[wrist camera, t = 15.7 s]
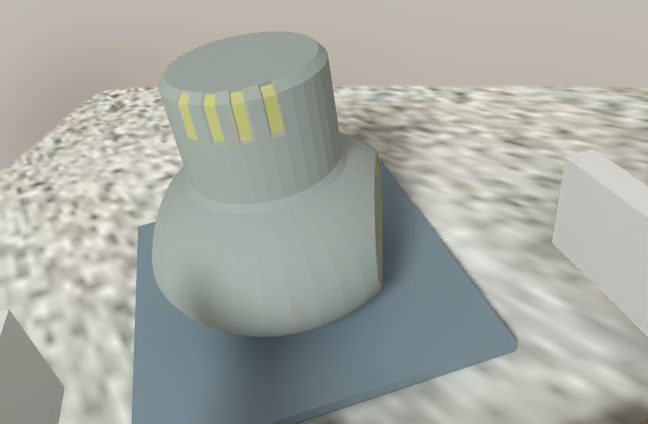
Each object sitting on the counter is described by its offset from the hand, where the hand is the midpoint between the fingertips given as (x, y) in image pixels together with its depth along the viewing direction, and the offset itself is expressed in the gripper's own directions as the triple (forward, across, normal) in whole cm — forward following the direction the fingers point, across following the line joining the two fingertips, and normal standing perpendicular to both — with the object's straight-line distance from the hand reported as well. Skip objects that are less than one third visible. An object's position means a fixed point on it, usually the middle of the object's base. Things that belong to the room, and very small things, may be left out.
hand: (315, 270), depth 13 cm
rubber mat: (+8, 0, -8) cm, 12 cm away
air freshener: (+8, 0, -8) cm, 11 cm away
